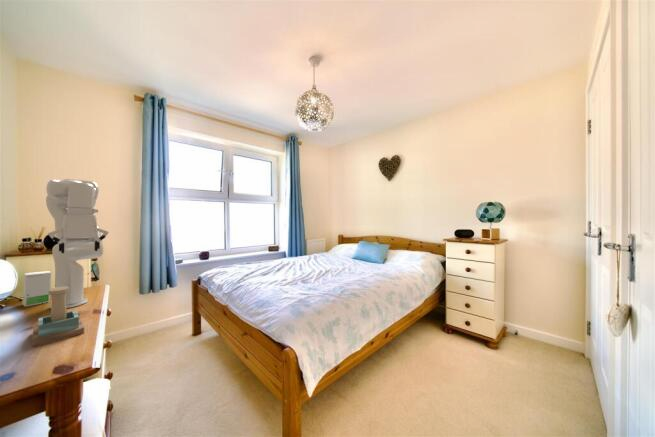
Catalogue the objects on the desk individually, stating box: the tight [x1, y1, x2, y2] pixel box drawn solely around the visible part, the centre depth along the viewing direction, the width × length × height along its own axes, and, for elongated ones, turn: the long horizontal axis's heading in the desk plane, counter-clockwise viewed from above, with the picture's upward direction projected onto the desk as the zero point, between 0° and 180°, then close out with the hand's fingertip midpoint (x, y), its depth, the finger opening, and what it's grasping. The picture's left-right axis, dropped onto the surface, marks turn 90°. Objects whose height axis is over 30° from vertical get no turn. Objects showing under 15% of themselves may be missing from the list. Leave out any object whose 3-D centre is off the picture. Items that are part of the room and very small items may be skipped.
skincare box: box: [22, 270, 52, 308], centre depth 115 cm, size 8×7×16 cm
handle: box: [49, 286, 69, 323], centre depth 86 cm, size 5×6×15 cm
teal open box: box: [32, 309, 85, 348], centre depth 86 cm, size 14×12×6 cm
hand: (80, 251), depth 97 cm, fingers open, 9 cm apart
